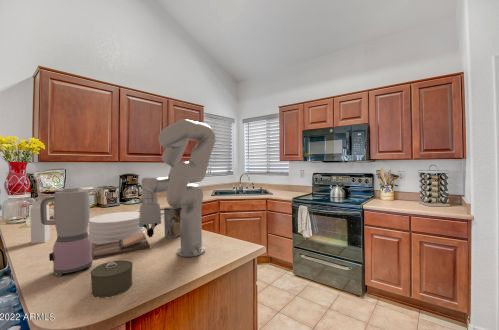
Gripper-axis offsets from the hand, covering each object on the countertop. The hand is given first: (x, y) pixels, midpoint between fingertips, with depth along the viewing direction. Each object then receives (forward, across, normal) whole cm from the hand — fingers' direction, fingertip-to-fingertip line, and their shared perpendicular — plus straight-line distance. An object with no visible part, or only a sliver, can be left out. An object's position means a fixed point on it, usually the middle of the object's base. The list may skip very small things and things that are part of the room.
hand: (150, 236), depth 122 cm
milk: (+4, -50, +38) cm, 63 cm away
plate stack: (+4, -14, +25) cm, 29 cm away
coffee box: (+4, +14, +7) cm, 16 cm away
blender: (+4, -32, -16) cm, 36 cm away
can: (+4, -18, -41) cm, 45 cm away
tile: (0, -8, 0) cm, 8 cm away
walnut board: (+4, -13, 0) cm, 13 cm away
